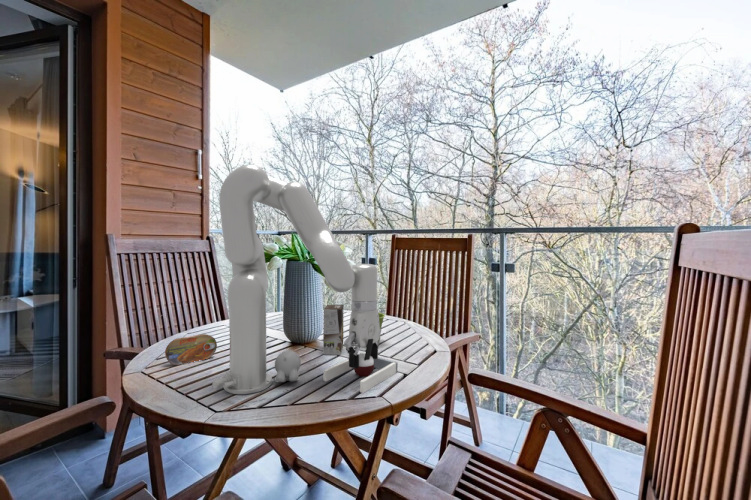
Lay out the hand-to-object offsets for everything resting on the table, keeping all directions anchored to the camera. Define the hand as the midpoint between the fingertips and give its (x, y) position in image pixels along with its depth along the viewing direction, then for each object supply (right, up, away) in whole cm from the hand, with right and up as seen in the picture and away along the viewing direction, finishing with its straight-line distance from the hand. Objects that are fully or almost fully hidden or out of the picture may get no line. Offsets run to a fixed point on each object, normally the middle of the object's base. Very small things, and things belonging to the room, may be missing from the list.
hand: (363, 362), depth 105 cm
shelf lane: (-1, -4, -1) cm, 4 cm away
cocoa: (0, -4, 0) cm, 4 cm away
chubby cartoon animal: (-22, -4, -3) cm, 22 cm away
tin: (-57, -3, +11) cm, 58 cm away
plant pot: (+1, -3, +31) cm, 31 cm away
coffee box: (-12, -3, +22) cm, 25 cm away
